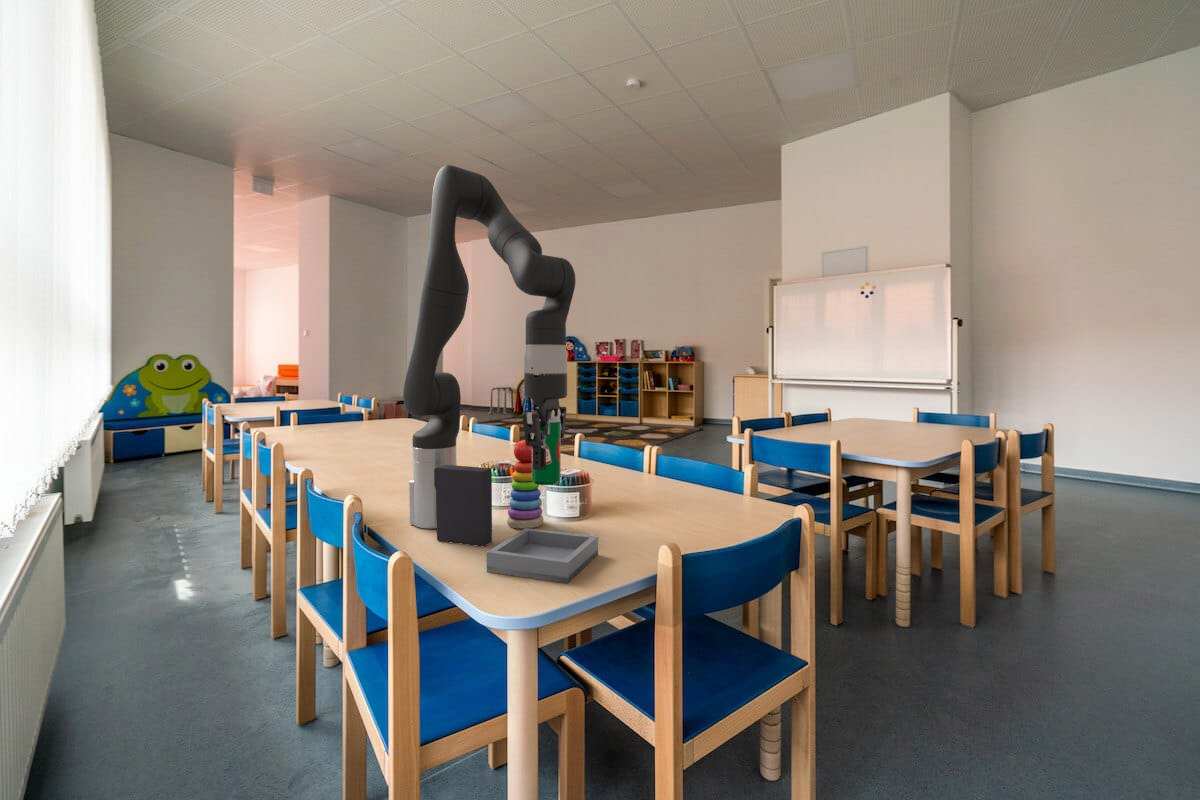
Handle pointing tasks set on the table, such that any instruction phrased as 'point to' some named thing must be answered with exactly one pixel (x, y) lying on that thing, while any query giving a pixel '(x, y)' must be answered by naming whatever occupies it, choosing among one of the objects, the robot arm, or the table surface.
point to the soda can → (550, 456)
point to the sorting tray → (543, 555)
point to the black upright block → (464, 504)
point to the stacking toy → (524, 492)
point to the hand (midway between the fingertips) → (545, 466)
